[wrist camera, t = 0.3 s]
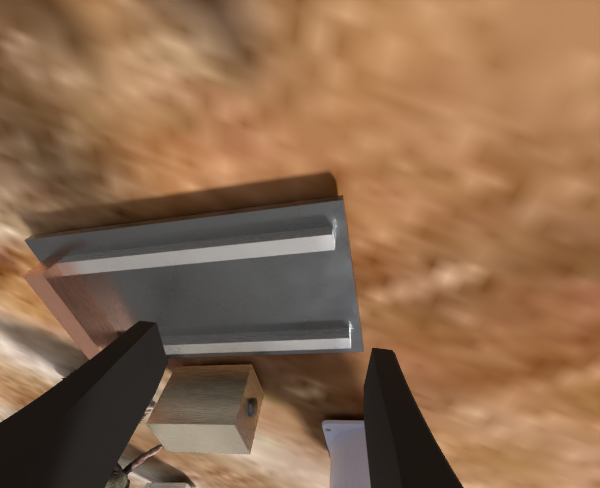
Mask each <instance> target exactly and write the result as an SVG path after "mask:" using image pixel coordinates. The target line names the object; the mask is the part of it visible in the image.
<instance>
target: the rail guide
mask: <svg viewBox="0 0 600 488" xmlns="http://www.w3.org/2000/svg"><path fill="white" fill-rule="evenodd" d="M25 242H26V243H27V244H28V246H29V247H30V248H31V250H32V251H33V253H34V254H35V255H36V257H37V258H38V259H39V261H40V262H41V263H39V264H38V265H37V266H35V267H34V268H33V269H31V270H30V271H29V272H27V273H26V274H25V275H23V277H24V278H25V280H26V281H27V282H28V283H29V285H30V286H31V287H32V288H33V290H34V291H35V292H36V293H37V295H38V296H39V297H40V299H41V300H42V301H43V302H44V304H45V305H46V306H47V307H48V309H49V310H50V311H51V312H52V314H53V315H54V316H55V317H56V319H57V320H58V321H59V322H60V324H61V325H62V326H63V328H64V329H65V330H66V331H67V333H68V334H69V335H70V336H71V338H72V339H73V340H74V341H75V343H76V344H77V345H78V346H79V348H80V349H81V350H82V351H83V353H84V354H85V355H86V357H87V358H88V359H89V360H90V359H91V358H93V357H94V356H95V355H96V354H98V353H99V352H100V351H102V350H103V349H104V348H105V347H107V346H108V345H109V344H110V343H112V342H113V341H114V340H115V339H117V338H118V337H119V336H120V335H122V334H123V333H124V332H125V331H127V330H128V329H129V328H130V327H132V326H133V325H134V324H136V323H137V322H138V321H147V322H156V323H157V326H158V330H159V333H160V336H161V340H162V343H163V347H164V350H165V354H166V357H167V358H187V357H219V356H251V355H283V354H315V353H347V352H364V345H363V338H362V331H361V323H360V316H359V309H358V301H357V294H356V287H355V279H354V272H353V265H352V257H351V250H350V243H349V235H348V228H347V221H346V213H345V206H344V199H343V195H342V196H334V197H326V198H319V199H311V200H303V201H295V202H288V203H280V204H272V205H265V206H257V207H249V208H241V209H234V210H226V211H218V212H210V213H203V214H195V215H187V216H179V217H172V218H164V219H156V220H148V221H141V222H133V223H125V224H118V225H110V226H102V227H94V228H87V229H79V230H71V231H63V232H56V233H48V234H40V235H32V236H30V237H29V238H27V239H26V240H25Z"/></svg>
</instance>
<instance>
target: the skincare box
mask: <svg viewBox="0 0 600 488" xmlns="http://www.w3.org/2000/svg"><path fill="white" fill-rule="evenodd" d="M145 488H192V487H191V486H189V485H188V484H187V483H147V484H146V486H145Z"/></svg>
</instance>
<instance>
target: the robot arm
mask: <svg viewBox="0 0 600 488" xmlns="http://www.w3.org/2000/svg"><path fill="white" fill-rule="evenodd" d="M167 363H168V361H167V357H166V354H165V350H164V347H163V343H162V340H161V336H160V333H159V330H158V326H157V323H156V322H147V321H138V322H137V323H136V324H134V325H133V326H132V327H130V328H129V329H128V330H127V331H125V332H124V333H123V334H122V335H120V336H119V337H118V338H117V339H115V340H114V341H113V342H112V343H110V344H109V345H108V346H107V347H105V348H104V349H103V350H102V351H100V352H99V353H98V354H96V355H95V356H94V357H93V358H91V359H90V360H89V361H87V362H86V363H85V364H84V365H82V366H81V367H80V368H78V369H77V370H76V371H74V372H73V373H72V374H70V375H69V376H68V377H66V378H65V379H63V380H62V381H61V382H59V383H58V384H57V385H55V386H54V387H52V388H51V389H50V390H48V391H47V392H46V393H44V394H43V395H41V396H40V397H39V398H37V399H36V400H34V401H33V402H31V403H30V404H28V405H27V406H25V407H24V408H22V409H21V410H19V411H18V412H16V413H15V414H13V415H12V416H10V417H8V418H7V419H5V420H4V421H2V422H1V423H0V488H105V486H106V484H107V482H108V480H109V478H110V475H111V474H112V472H113V470H114V468H115V466H116V464H117V462H118V460H119V458H120V456H121V454H122V453H123V451H124V449H125V447H126V445H127V444H128V442H129V440H130V438H131V436H132V435H133V433H134V431H135V429H136V427H137V426H138V424H139V422H140V420H141V418H142V417H143V415H144V413H145V411H146V409H147V407H148V406H149V404H150V402H151V400H152V398H153V396H154V394H155V393H156V390H157V388H158V386H159V383H160V381H161V379H162V376H163V373H164V371H165V368H166V366H167ZM322 429H323V432H324V436H325V439H326V443H327V446H328V450H329V453H330V457H331V464H330V488H463V486H462V484H461V483H460V481H459V480H458V478H457V476H456V475H455V473H454V471H453V470H452V468H451V466H450V465H449V463H448V461H447V460H446V458H445V456H444V454H443V453H442V451H441V449H440V447H439V446H438V444H437V442H436V440H435V439H434V437H433V435H432V433H431V431H430V429H429V427H428V426H427V424H426V422H425V420H424V418H423V416H422V414H421V412H420V410H419V408H418V406H417V404H416V402H415V400H414V398H413V395H412V393H411V391H410V389H409V387H408V385H407V382H406V380H405V378H404V375H403V373H402V371H401V368H400V366H399V363H398V361H397V358H396V355H395V353H394V352H393V351H392V350H387V349H378V348H372V352H371V357H370V361H369V366H368V370H367V375H366V379H365V384H364V420H324V421H323V422H322Z"/></svg>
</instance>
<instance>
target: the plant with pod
mask: <svg viewBox="0 0 600 488" xmlns="http://www.w3.org/2000/svg"><path fill="white" fill-rule="evenodd" d="M74 371H76V370H74ZM71 374H72V373H71ZM61 379H65V378H61ZM155 406H156V403H155V402H154V401H152V400H151V402H150V404H149V406H148V407H147V409H146V411H145V413H144V415H143V417H142V418H141V419H143V418H144V416H146V415H147V414H149V413H148V412H152V411H150V410H152V408H155ZM140 421H143V420H140ZM139 423H140V422H139ZM162 447H163V446H162V445H158V446H156V447H154V448H152V449H150V450H149V451H148V452H146V453H144V454H142V455H141V456H139V457H138V458H137V459H135V460H134V461H133V462H131V463H130V464H129V465H127V466H126V467H125V468H124V469H122V468H121V466H120V465H119V464H118V463H117V464H116V466H115V468H114V470H113V472H112V474H111V475H110V478H109V480H108V482H107V484H106V486H105V488H129V486H130V480H129V479H128V476H127V475H128V474H129V473H130V472H131V471H133V470H134V469H135V468H137V467H138V466H140V465H141V464H142V463H143V462H145V461H146V459H147V458H148V457H150V456H152V455H154V454H156V453H157V452H159V451H160V449H161V448H162Z"/></svg>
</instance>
